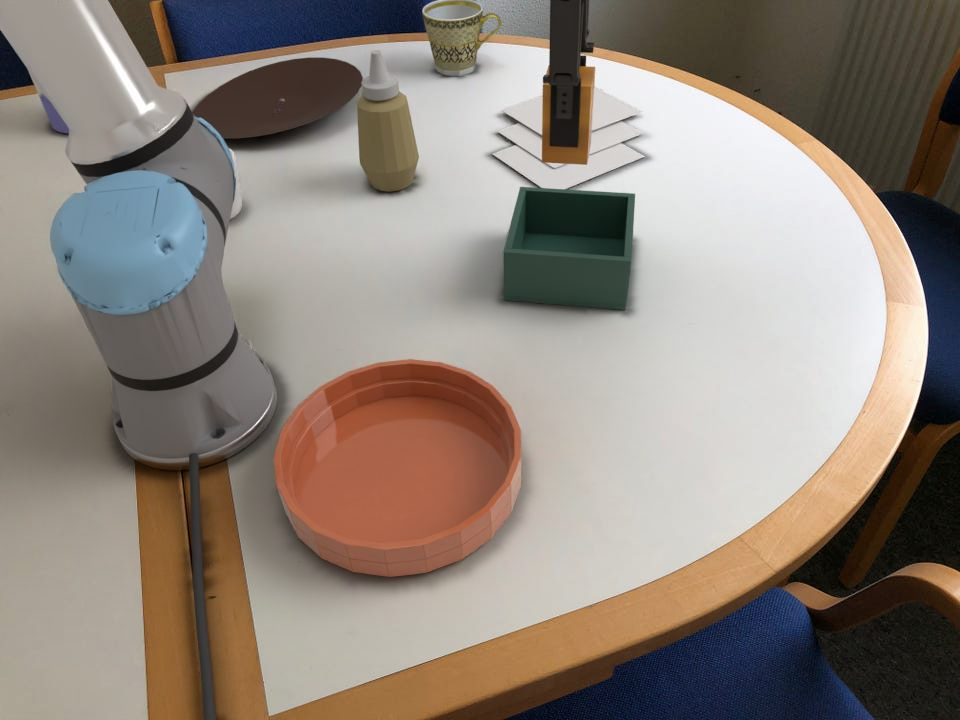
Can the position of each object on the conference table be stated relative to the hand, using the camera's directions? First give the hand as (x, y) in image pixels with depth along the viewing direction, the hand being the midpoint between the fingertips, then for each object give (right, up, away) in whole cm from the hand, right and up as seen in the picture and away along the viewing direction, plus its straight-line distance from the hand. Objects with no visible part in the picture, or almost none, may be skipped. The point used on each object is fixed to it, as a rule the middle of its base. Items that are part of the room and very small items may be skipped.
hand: (566, 131), depth 78 cm
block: (0, -2, +1) cm, 2 cm away
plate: (-41, +18, +49) cm, 66 cm away
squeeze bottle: (-21, +2, +31) cm, 37 cm away
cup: (-43, -4, +26) cm, 51 cm away
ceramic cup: (-11, +27, +58) cm, 65 cm away
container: (-72, +16, +48) cm, 88 cm away
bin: (+2, -12, +15) cm, 19 cm away
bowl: (-16, -33, -7) cm, 37 cm away
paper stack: (+5, +11, +39) cm, 41 cm away
